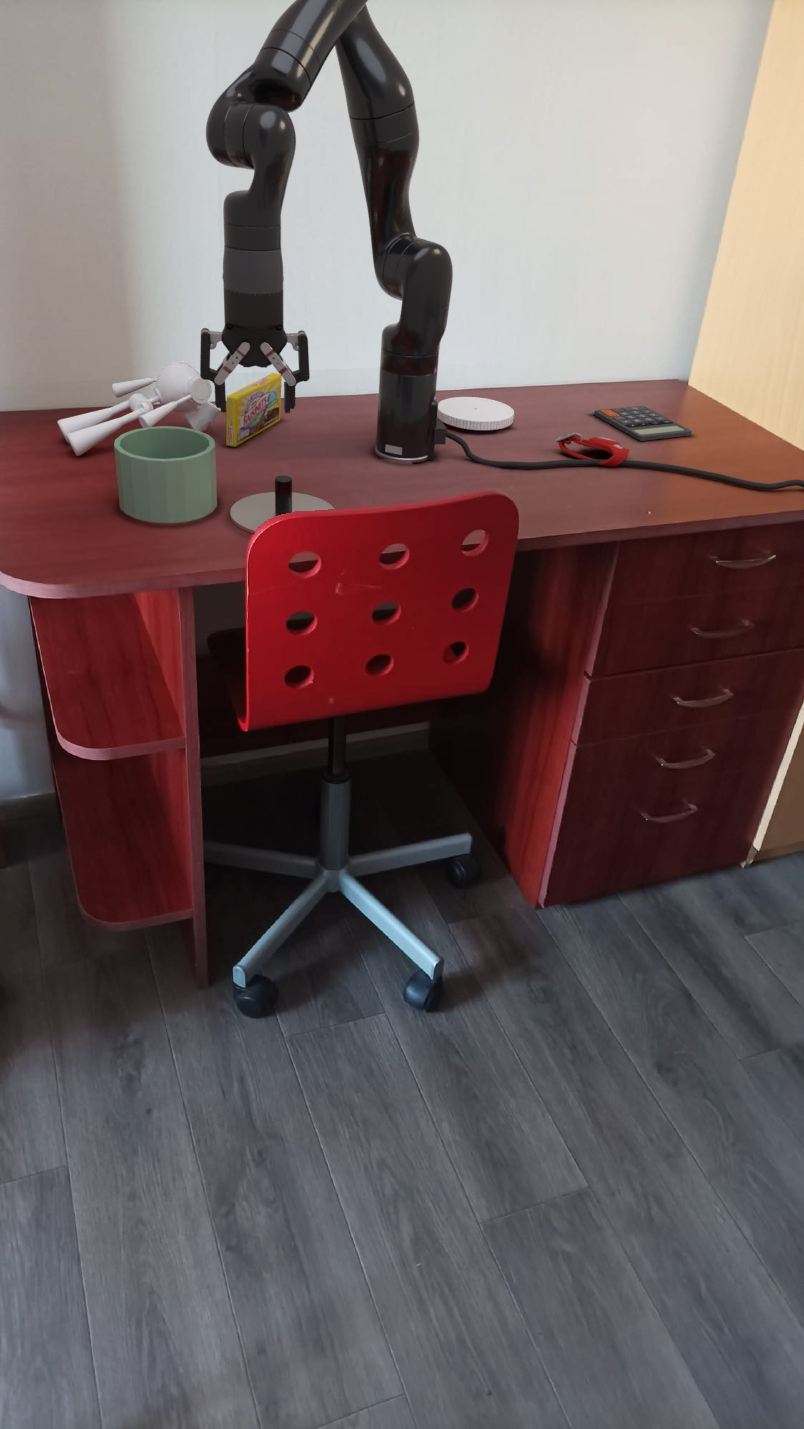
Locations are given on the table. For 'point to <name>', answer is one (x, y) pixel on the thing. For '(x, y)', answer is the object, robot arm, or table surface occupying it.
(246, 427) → the candy box
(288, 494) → the lid
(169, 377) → the toy robot
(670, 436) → the calculator
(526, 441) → the table surface
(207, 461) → the tin
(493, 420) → the plastic lid
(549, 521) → the table surface
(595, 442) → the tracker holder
